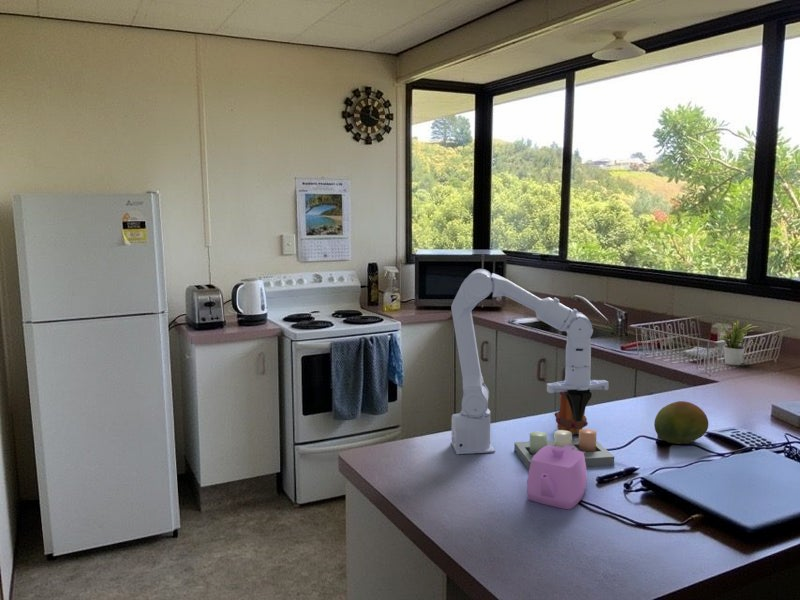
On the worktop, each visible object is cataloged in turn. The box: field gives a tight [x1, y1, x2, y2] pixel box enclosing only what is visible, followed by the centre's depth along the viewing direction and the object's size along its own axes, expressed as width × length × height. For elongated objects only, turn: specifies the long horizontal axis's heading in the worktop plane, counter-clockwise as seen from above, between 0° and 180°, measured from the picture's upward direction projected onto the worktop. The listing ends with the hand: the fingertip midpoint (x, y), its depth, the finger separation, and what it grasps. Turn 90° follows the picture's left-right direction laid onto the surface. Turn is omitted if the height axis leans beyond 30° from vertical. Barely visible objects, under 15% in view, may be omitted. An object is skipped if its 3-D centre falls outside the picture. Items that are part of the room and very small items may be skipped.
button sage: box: [529, 431, 548, 455], centre depth 151 cm, size 4×4×4 cm
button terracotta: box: [578, 428, 598, 452], centre depth 152 cm, size 4×4×4 cm
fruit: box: [653, 400, 710, 445], centre depth 159 cm, size 12×13×10 cm
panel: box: [513, 438, 615, 470], centre depth 152 cm, size 20×12×2 cm, turn 96°
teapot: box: [526, 445, 588, 510], centre depth 131 cm, size 18×10×10 cm, turn 148°
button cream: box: [553, 430, 573, 448], centre depth 151 cm, size 4×4×4 cm
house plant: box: [717, 319, 759, 366], centre depth 233 cm, size 14×14×16 cm
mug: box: [554, 377, 589, 435], centre depth 169 cm, size 15×8×15 cm, turn 173°
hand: (577, 419), depth 153 cm, fingers closed
